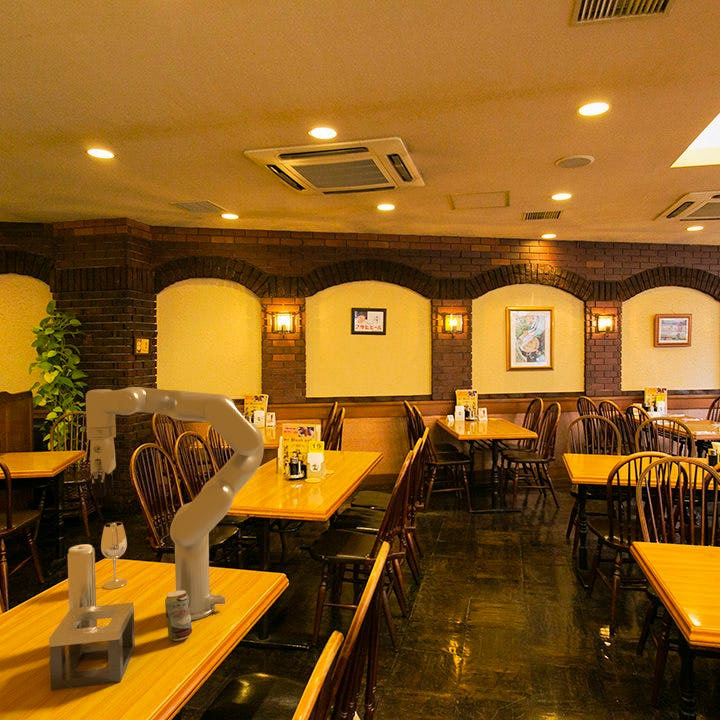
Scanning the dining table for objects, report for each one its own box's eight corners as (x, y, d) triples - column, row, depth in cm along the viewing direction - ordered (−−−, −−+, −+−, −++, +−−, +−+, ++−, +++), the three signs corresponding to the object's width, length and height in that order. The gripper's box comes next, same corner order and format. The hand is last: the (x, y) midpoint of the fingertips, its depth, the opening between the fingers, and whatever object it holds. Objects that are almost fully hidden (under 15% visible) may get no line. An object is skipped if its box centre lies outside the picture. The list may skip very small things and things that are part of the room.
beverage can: (179, 646, 145) (177, 600, 145) (160, 639, 149) (159, 594, 148) (197, 635, 150) (196, 591, 150) (179, 628, 154) (178, 585, 154)
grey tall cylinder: (86, 647, 145) (83, 552, 145) (64, 645, 146) (61, 550, 146) (102, 635, 151) (99, 543, 151) (81, 633, 153) (78, 542, 152)
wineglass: (121, 589, 181) (119, 528, 181) (97, 589, 181) (96, 528, 181) (131, 579, 189) (130, 520, 189) (108, 579, 189) (107, 521, 189)
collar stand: (134, 648, 144) (133, 602, 144) (120, 682, 129) (119, 630, 129) (72, 655, 141) (71, 608, 141) (50, 690, 127) (49, 638, 126)
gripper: (108, 436, 152) (110, 499, 152) (121, 428, 168) (123, 484, 169) (78, 437, 150) (80, 501, 150) (94, 429, 167) (96, 486, 167)
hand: (103, 492), depth 159 cm, fingers open, 9 cm apart
